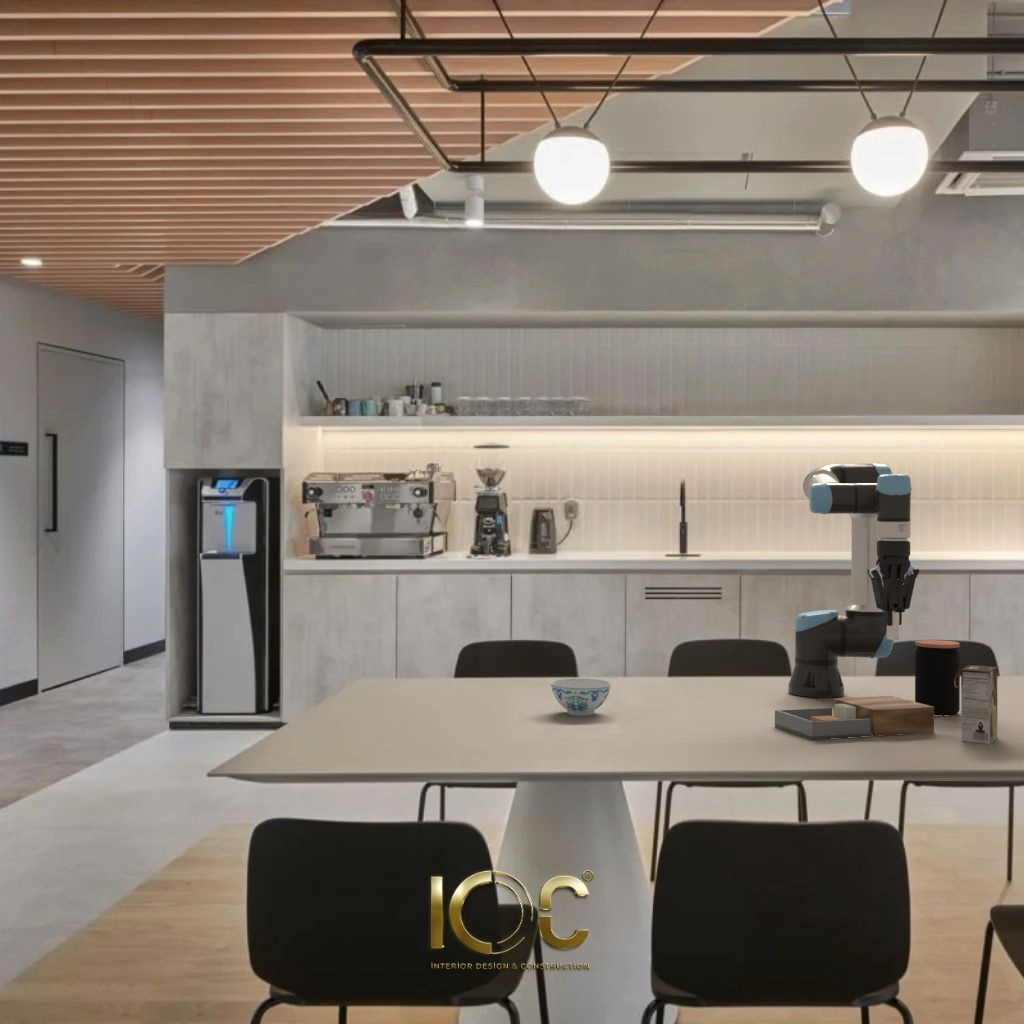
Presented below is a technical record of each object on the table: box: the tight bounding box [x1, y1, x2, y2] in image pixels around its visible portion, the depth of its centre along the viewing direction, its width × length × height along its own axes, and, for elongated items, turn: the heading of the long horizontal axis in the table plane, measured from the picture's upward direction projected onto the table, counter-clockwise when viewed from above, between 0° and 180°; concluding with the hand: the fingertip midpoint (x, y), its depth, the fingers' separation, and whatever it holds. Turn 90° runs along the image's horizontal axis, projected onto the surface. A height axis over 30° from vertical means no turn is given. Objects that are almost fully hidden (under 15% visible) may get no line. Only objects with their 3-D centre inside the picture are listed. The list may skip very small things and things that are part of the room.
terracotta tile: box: [811, 715, 842, 721], centre depth 252 cm, size 5×5×2 cm
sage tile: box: [833, 703, 856, 720], centre depth 254 cm, size 5×5×2 cm
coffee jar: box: [914, 639, 961, 717], centre depth 278 cm, size 11×11×18 cm
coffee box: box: [960, 664, 998, 745], centre depth 244 cm, size 9×6×16 cm
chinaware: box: [550, 677, 612, 717], centre depth 275 cm, size 15×15×8 cm
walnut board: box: [833, 695, 935, 737], centre depth 257 cm, size 16×16×6 cm
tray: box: [774, 706, 873, 741], centre depth 252 cm, size 16×16×4 cm
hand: (892, 639), depth 258 cm, fingers closed
